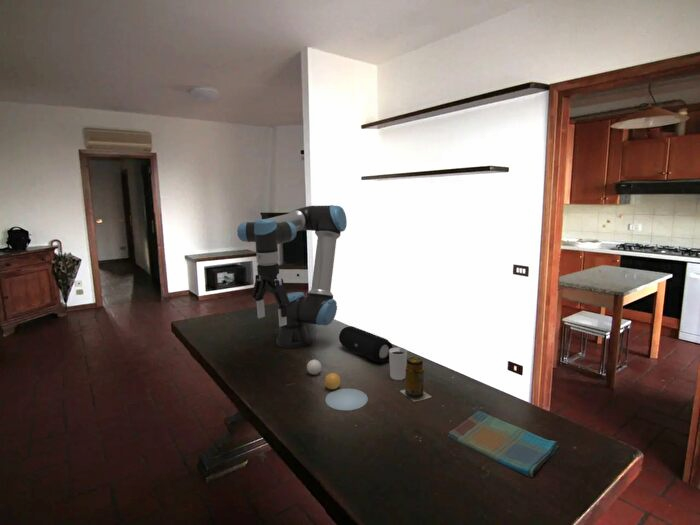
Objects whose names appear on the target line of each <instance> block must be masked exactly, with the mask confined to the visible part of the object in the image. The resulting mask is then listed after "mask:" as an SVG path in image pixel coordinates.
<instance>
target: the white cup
mask: <svg viewBox="0 0 700 525" xmlns="http://www.w3.org/2000/svg"><path fill="white" fill-rule="evenodd" d="M407 359H408V349H406V348H404V347H397V346H396V347H393V348H391V349H390V350H389V360H388V362H389V375H390V376H389V377H390V378H391V379H392V380H394V381H395V380H396V381H402V380H404V379H405V380H406V366H407Z"/></svg>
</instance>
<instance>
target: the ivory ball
mask: <svg viewBox="0 0 700 525" xmlns="http://www.w3.org/2000/svg"><path fill="white" fill-rule="evenodd" d="M306 370H307V372H308V373H309V374H310V375H313V376H314V375H318V374H320V372H321V371H322V364H321V362H320V361H319V360H318V359H311V360H310V361H308V363H307V365H306Z"/></svg>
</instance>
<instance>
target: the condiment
mask: <svg viewBox="0 0 700 525" xmlns="http://www.w3.org/2000/svg"><path fill="white" fill-rule="evenodd" d="M424 370H425V368H424V366H423V359H422V358H420V357H417V356H416V357H415V356H410V357H409V358H408V357H407V363H406V378H405V388H404V389H401V390H399V392H400V393H402V394H403V395H404V396H405V397H407V398H408V399H409V400H411V401H412V402H414V403H415V402H419V401H423V400H426V399H429V398H430V399H431V398H432V395H430V394H429V393H427V392H426V391H424V387H425V386H424V383H425V382H424V381H425V380H424V378H425V371H424Z"/></svg>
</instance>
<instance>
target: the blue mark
mask: <svg viewBox="0 0 700 525" xmlns="http://www.w3.org/2000/svg"><path fill="white" fill-rule="evenodd" d="M368 400H369V398H368V396H367V394H366V393H365V392H363V391H361V390H359V389H356V388H340V389H334V390H333V391H330V392H329V393H327V394H326V396H325V404H326V405H327V407H329V408H330V409H334V410H337V411H345V412H347V411H355V410H359V409H360V408H362V407H364V406H365V405H367V403H368Z"/></svg>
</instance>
